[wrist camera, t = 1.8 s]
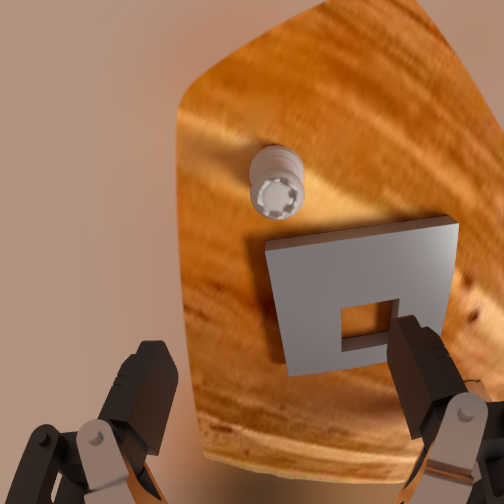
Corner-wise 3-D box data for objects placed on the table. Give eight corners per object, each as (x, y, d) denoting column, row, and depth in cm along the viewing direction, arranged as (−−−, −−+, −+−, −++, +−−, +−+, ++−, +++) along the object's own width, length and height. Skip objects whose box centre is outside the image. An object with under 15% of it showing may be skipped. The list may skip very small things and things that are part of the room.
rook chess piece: (315, 175, 24) (332, 205, 17) (273, 207, 25) (271, 249, 18) (280, 133, 23) (283, 143, 15) (238, 167, 24) (221, 193, 17)
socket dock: (449, 215, 24) (459, 223, 22) (431, 338, 31) (436, 349, 29) (265, 241, 27) (264, 251, 25) (288, 364, 34) (288, 376, 32)
